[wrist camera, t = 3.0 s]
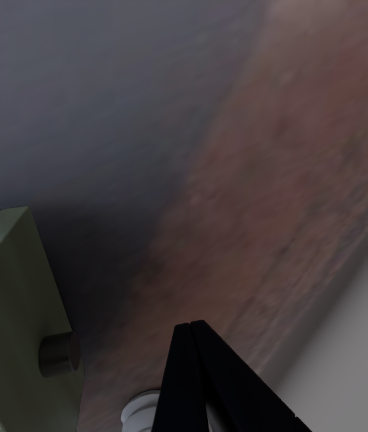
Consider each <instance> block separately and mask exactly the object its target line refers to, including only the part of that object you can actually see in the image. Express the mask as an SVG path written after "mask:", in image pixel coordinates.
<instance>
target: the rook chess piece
mask: <svg viewBox="0 0 368 432" xmlns="http://www.w3.org/2000/svg"><path fill="white" fill-rule="evenodd" d="M159 394H160V390H150V391H147V392H143V393H140V394H139V395H137V396H135V397H134V398H132V399H131V400H130V402H129V403H128V404H127V405H126V407H125V408H124V409H123V411H122V415H121V421H122V423H123V428H122V432H151V429H152V425H153V420H154V416H155V411H156V407H157V402H158V398H159Z"/></svg>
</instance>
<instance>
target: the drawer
mask: <svg viewBox="0 0 368 432" xmlns="http://www.w3.org/2000/svg"><path fill="white" fill-rule="evenodd" d="M84 373H85V367H84V365H83V362H82V359H81V356H80V344H79V339H78V336H77V333H76V332H75V331H72V329H71V326H70V324H69V321H68V318H67V315H66V312H65V309H64V306H63V303H62V300H61V297H60V294H59V291H58V288H57V286H56V283H55V280H54V277H53V274H52V271H51V268H50V265H49V262H48V259H47V256H46V253H45V250H44V248H43V245H42V242H41V239H40V236H39V233H38V230H37V227H36V224H35V221H34V218H33V215H32V212H31V210H30V207H29V206H23V207H16V208H9V209H2V210H0V432H77V425H78V418H79V410H80V403H81V396H82V388H83V381H84Z"/></svg>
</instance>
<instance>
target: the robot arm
mask: <svg viewBox="0 0 368 432" xmlns="http://www.w3.org/2000/svg"><path fill="white" fill-rule="evenodd" d="M207 415H208V418H209V421H210V424H211V427H212V430H213V432H312V431H311V430H310V429H309V428H308V427H307V426H306V425H305V424H304V423H303V422H302V421H301V420H300V419H299V418H298V417H295V414H294V413H293V412H292V411H291V409H289V407H288V406H287V405H286V404H285V403H284V402H283V401H282V400H281V399H280V398H279V397H278V396H277V395H276V394H275V393H274V392H273V391H272V390H271V389H270V388H269V387H268V386H267V385H266V384H265V383H264V382H263V381H262V380H261V378H260V377H259V376H258V375H257V374H256V373H255V372H254V371H253V370H252V369H251V368H250V367H249V366H248V365H247V364H246V363H245V362H244V361H243V360H242V359H241V358H240V357H239V356H238V355H237V354H236V353H235V352H234V351H233V350H232V348H231V347H230V346H229V345H228V344H227V343H226V342H225V341H224V340H223V339H222V338H221V337H220V336H219V335H218V334H217V333H216V332H215V331H214V330H213V329H212V328H211V327H210V326H209V325H208V324H207V323H206V322H205V321H204V320H197V321H192V322H190V324H189V323H182V324H177V325H175V327H174V331H173V336H172V340H171V345H170V349H169V354H168V358H167V362H166V367H165V371H164V376H163V380H162V385H161V389H160V394H159V398H158V402H157V407H156V411H155V416H154V420H153V425H152V429H151V432H209V426H208V418H207Z"/></svg>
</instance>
